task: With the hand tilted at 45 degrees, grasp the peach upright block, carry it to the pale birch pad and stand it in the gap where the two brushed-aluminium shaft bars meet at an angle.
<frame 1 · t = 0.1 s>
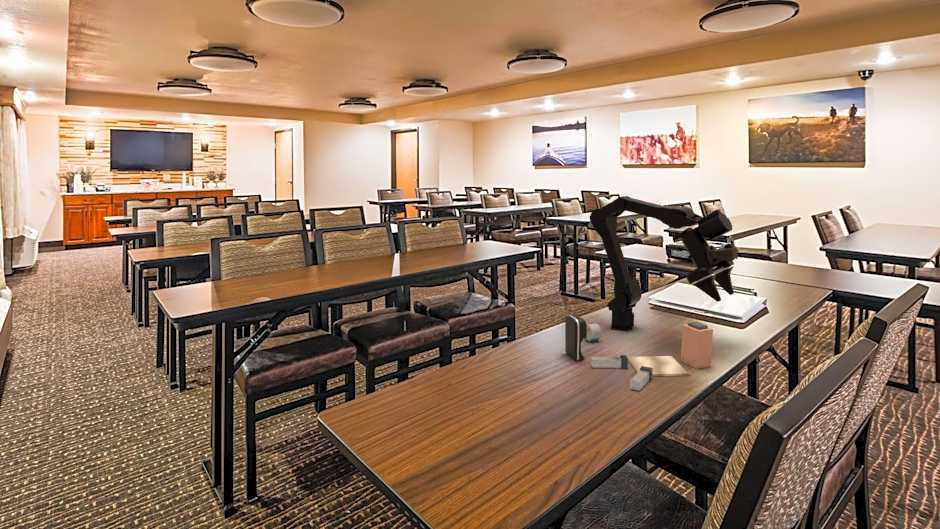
hand: (725, 297, 145), 15 cm above the table, tool tilted 30°, fingers open, 9 cm apart
peach upright block: (695, 363, 138), on the table
shaft side: (609, 366, 138), on the table
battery: (576, 357, 145), on the table
shaft front: (641, 383, 127), on the table
electric motor: (590, 341, 158), on the table
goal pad: (656, 367, 136), on the table
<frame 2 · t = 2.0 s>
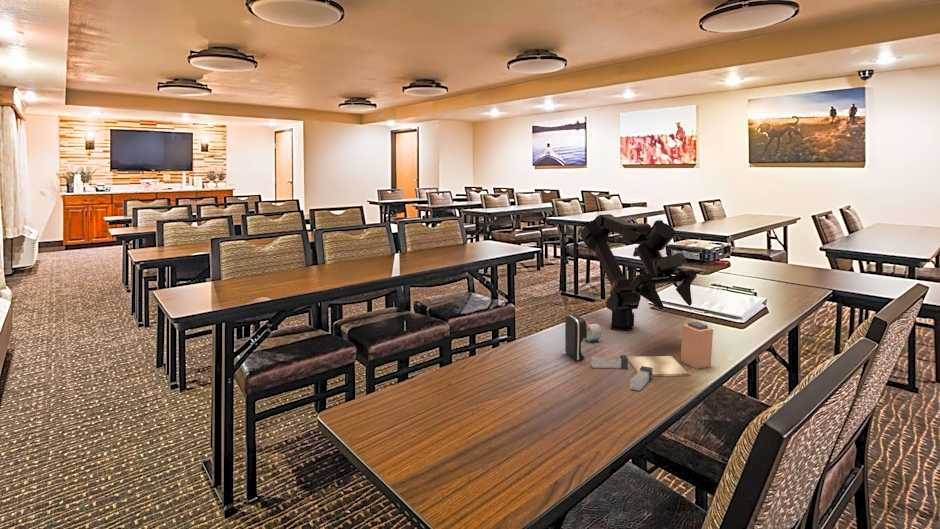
hand: (676, 306, 143), 13 cm above the table, tool tilted 45°, fingers open, 9 cm apart
nothing on the table moved.
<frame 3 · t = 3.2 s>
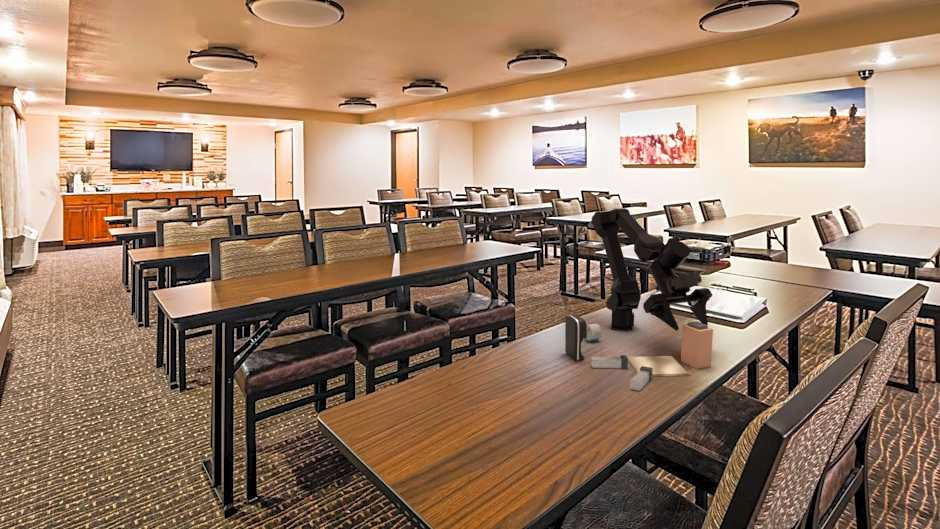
hand: (692, 327, 138), 9 cm above the table, tool tilted 45°, fingers open, 9 cm apart
nothing on the table moved.
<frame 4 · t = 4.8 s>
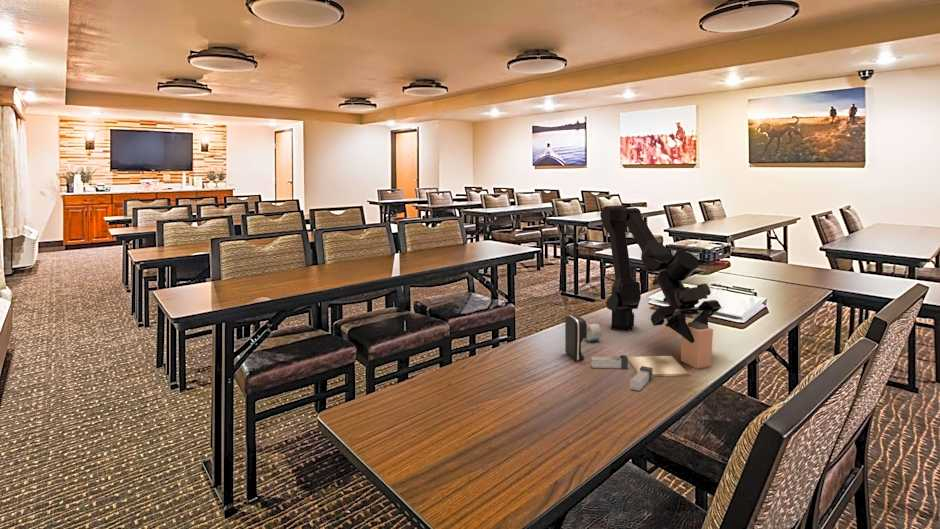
hand: (700, 341, 135), 7 cm above the table, tool tilted 45°, fingers closed on peach upright block, 4 cm apart
peach upright block: (695, 363, 138), on the table, touching gripper
everything else where it was.
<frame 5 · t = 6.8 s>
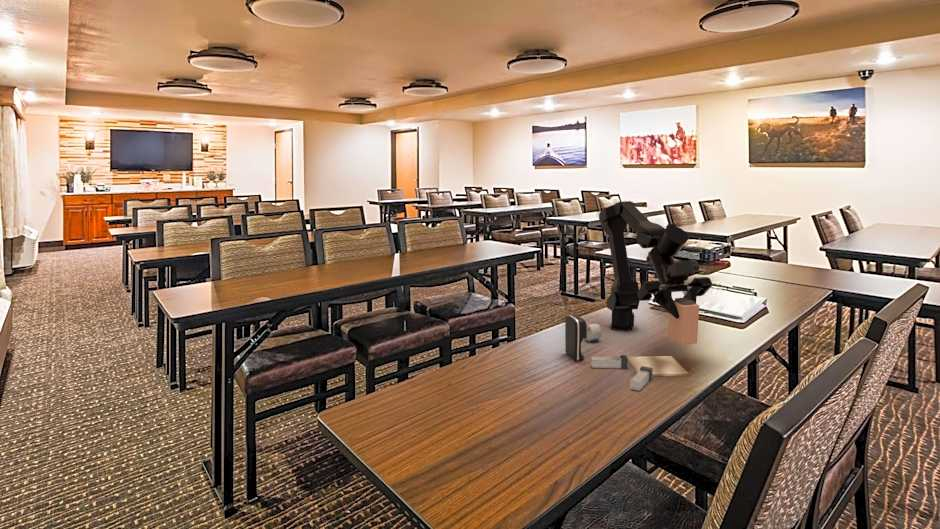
hand: (686, 317, 133), 13 cm above the table, tool tilted 45°, fingers closed on peach upright block, 4 cm apart
peach upright block: (682, 340, 136), point 7 cm above the table, touching gripper
everything else where it was.
when the fingers open (8 cm above the table, at t = 8.9 s): peach upright block drops 1 cm, resting on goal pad.
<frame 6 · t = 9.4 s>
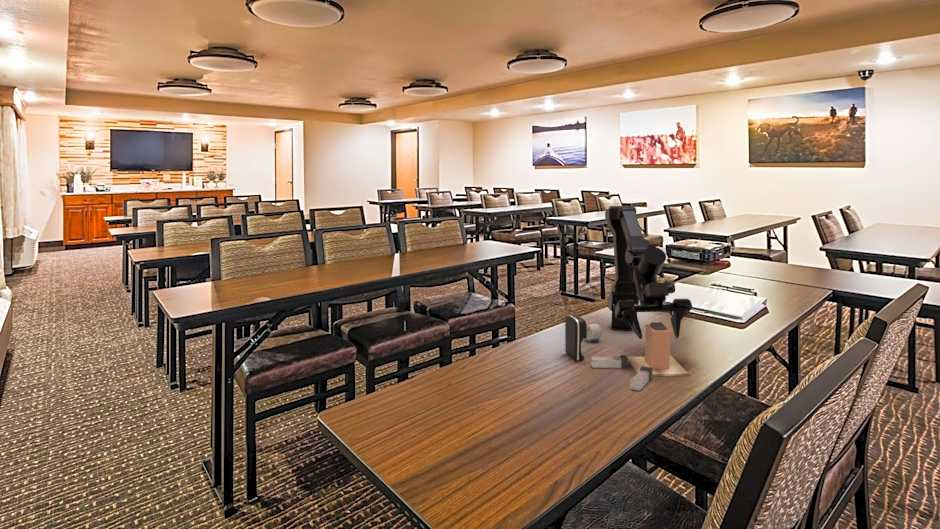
hand: (659, 338, 133), 8 cm above the table, tool tilted 45°, fingers open, 9 cm apart
peach upright block: (656, 364, 136), point 1 cm above the table, touching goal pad
everything else where it was.
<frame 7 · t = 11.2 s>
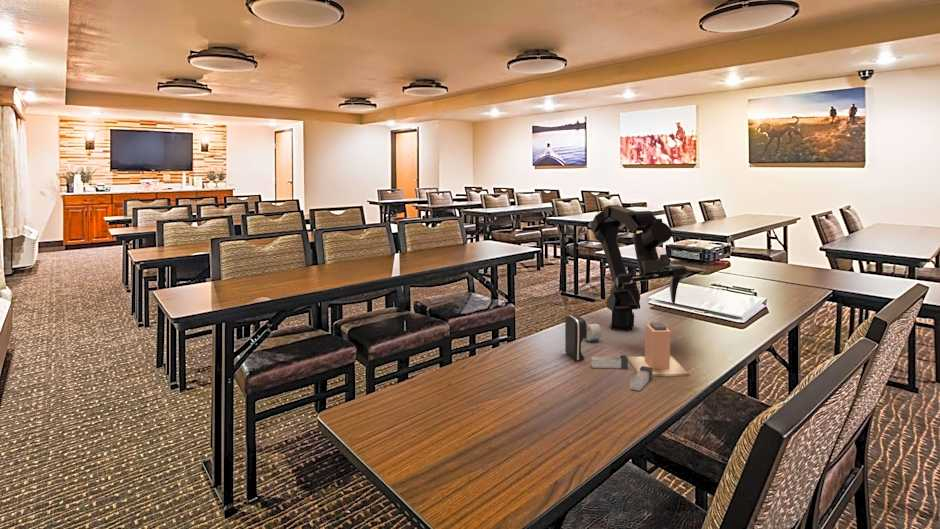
hand: (656, 306, 146), 13 cm above the table, tool tilted 25°, fingers open, 9 cm apart
nothing on the table moved.
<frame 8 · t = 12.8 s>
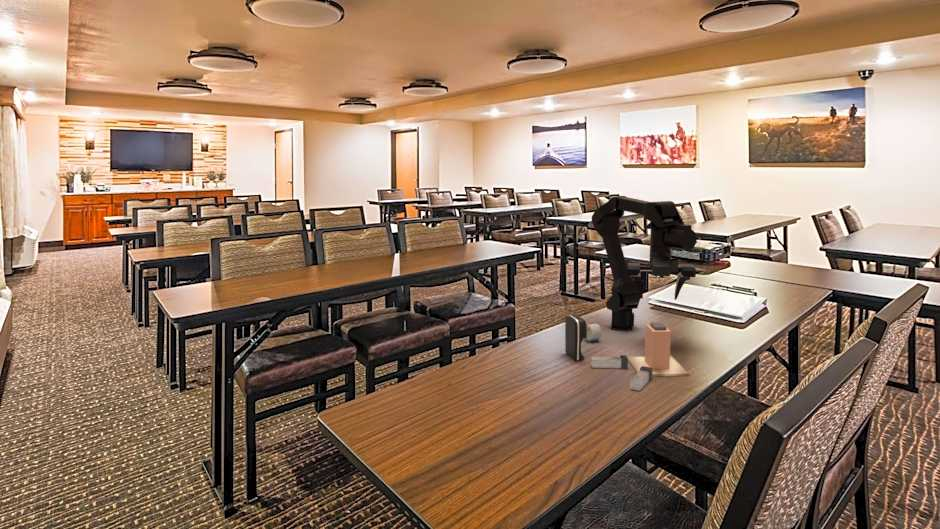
hand: (658, 298, 153), 13 cm above the table, tool pointing down, fingers open, 9 cm apart
nothing on the table moved.
at the end: peach upright block 0.1 cm from the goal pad (horizontally); peach upright block tilted 0°; the gripper is holding nothing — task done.
